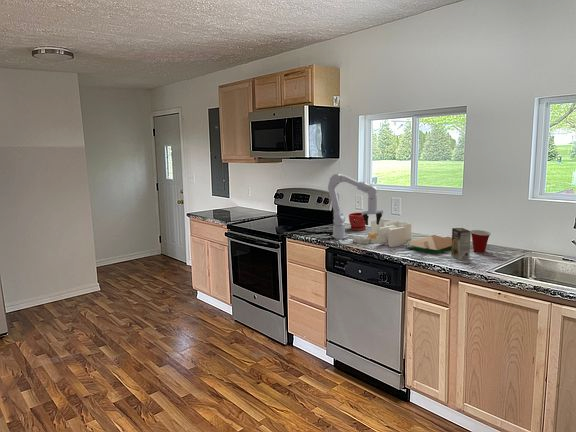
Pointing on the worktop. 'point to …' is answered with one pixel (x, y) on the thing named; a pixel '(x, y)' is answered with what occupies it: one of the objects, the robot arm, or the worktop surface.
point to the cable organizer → (392, 236)
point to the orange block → (372, 235)
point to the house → (431, 243)
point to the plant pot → (357, 221)
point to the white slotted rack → (389, 223)
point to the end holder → (372, 240)
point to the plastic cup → (479, 240)
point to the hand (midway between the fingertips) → (372, 224)
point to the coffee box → (460, 243)
